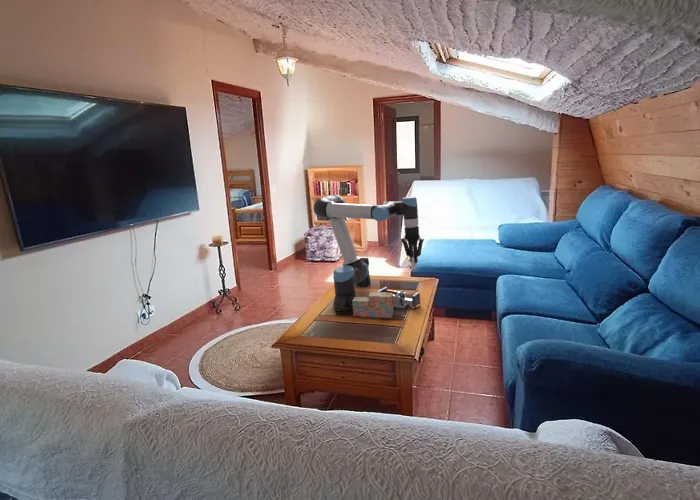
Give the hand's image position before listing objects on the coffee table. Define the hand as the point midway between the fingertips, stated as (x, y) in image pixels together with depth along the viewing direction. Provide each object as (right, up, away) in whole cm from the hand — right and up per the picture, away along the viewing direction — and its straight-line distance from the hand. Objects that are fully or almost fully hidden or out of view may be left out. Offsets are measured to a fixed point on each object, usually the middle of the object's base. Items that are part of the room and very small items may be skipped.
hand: (414, 268), depth 223 cm
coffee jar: (-26, -13, +48) cm, 57 cm away
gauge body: (-9, -21, +13) cm, 26 cm away
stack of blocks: (-22, -26, -1) cm, 34 cm away
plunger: (-4, -21, +9) cm, 23 cm away
